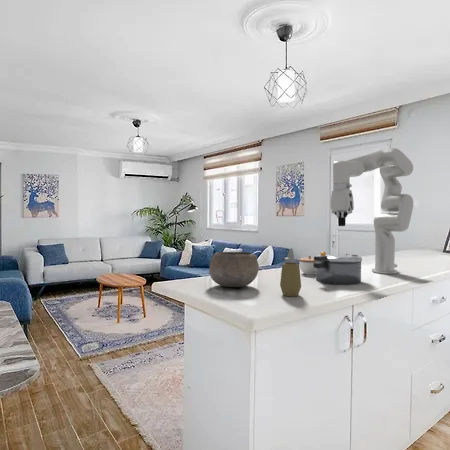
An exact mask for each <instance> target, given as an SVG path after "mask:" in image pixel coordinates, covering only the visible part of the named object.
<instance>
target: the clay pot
mask: <svg viewBox="0 0 450 450" xmlns="http://www.w3.org/2000/svg"><path fill="white" fill-rule="evenodd" d="M259 266H260V265H259V262H258V257H257V255H256V254H254V253H253V252H249V251H248V252H247V251H216V252H215V253H214V254H213V256H212V258H211V260H210V262H209V267H208V268H209V271H208V272H209V276H210V279H211V280H212V281H213V282H214V283H215V284H217V285H219V286H221V287H222V286H223V287H227V288H243V287H247V286H249V285H250V284H251V283H253V281H255V279H256V278H257V276H258V275H259V270H260V269H259V268H260V267H259Z"/></svg>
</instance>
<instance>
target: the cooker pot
mask: <svg viewBox="0 0 450 450" xmlns="http://www.w3.org/2000/svg"><path fill="white" fill-rule="evenodd" d="M314 268H316V274H315V280H316V281H317V282H319V283H321V284H328V285H335V286H336V285H337V286H353V285H355V286H356V285H359V284H361V283H362V261H360V262H350V263H342V262H326V261H316V263H314Z"/></svg>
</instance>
